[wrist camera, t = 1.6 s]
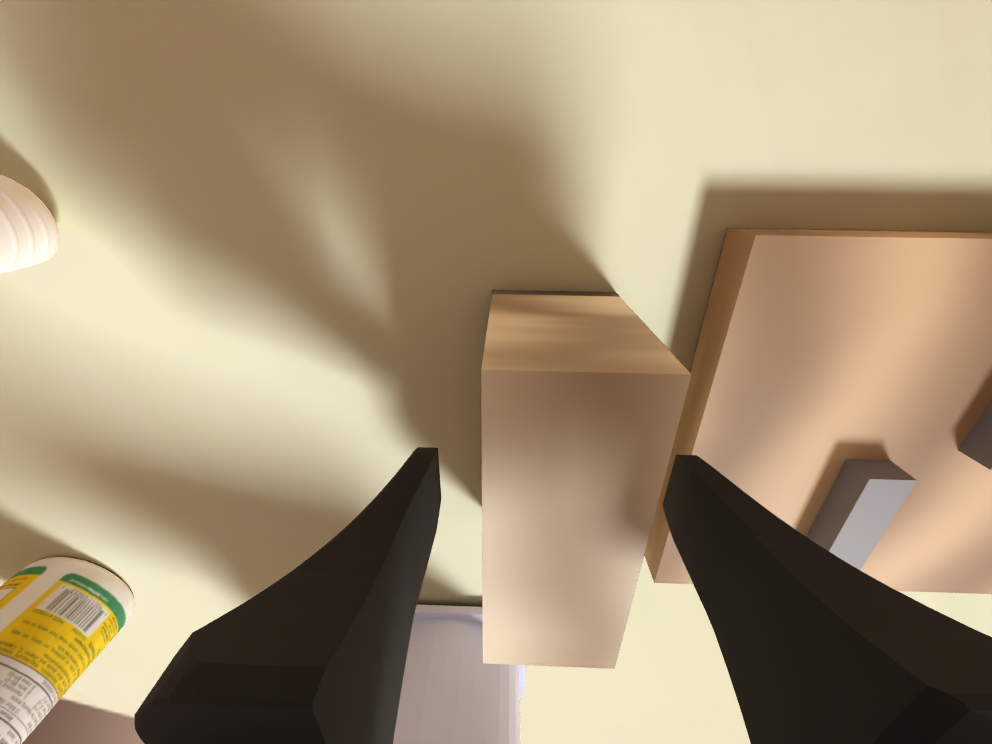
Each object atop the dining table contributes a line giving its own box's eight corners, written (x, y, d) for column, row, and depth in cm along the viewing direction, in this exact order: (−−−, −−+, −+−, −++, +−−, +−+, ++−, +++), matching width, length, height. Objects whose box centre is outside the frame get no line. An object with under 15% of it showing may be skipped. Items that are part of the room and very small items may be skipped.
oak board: (643, 552, 18) (654, 582, 17) (727, 228, 12) (755, 235, 10) (956, 562, 18) (993, 594, 16) (1213, 235, 11) (1306, 243, 10)
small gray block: (799, 549, 16) (817, 572, 15) (845, 458, 14) (869, 479, 13) (837, 551, 15) (858, 574, 15) (890, 460, 13) (917, 480, 13)
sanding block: (490, 512, 17) (482, 663, 12) (492, 289, 13) (480, 369, 8) (581, 515, 17) (614, 668, 12) (615, 291, 13) (692, 374, 7)
